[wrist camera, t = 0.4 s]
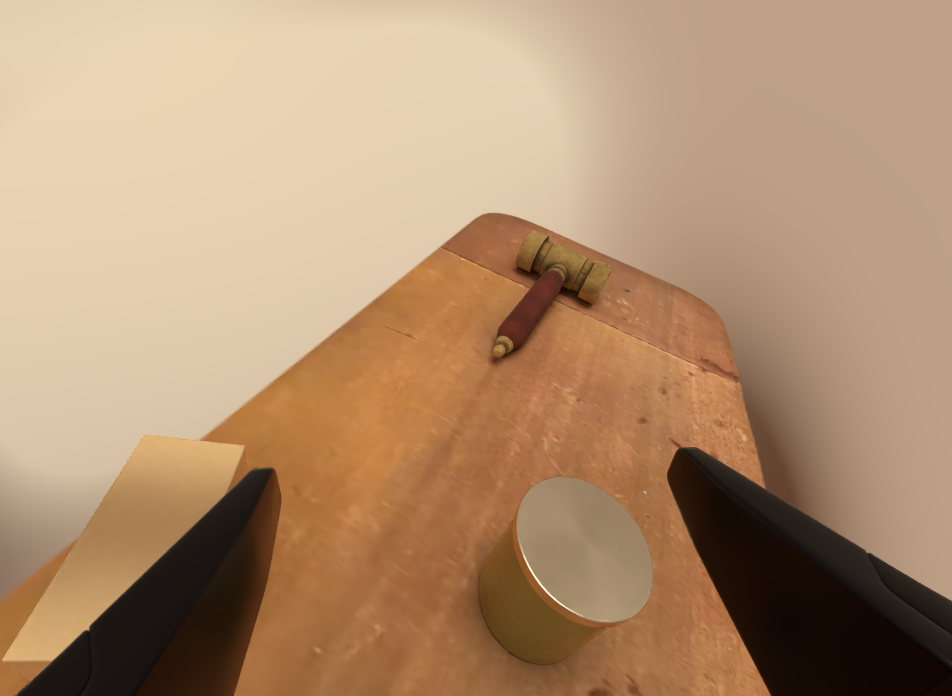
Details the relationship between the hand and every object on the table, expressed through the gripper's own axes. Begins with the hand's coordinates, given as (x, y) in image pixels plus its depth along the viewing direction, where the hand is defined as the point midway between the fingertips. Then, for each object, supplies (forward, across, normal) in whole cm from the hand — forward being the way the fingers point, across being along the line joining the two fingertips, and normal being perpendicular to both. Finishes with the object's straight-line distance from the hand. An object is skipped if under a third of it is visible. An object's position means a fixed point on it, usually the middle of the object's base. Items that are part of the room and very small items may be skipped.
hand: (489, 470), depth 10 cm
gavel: (+32, -11, +12) cm, 36 cm away
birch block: (+6, +12, +12) cm, 18 cm away
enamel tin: (+6, -5, +15) cm, 17 cm away
